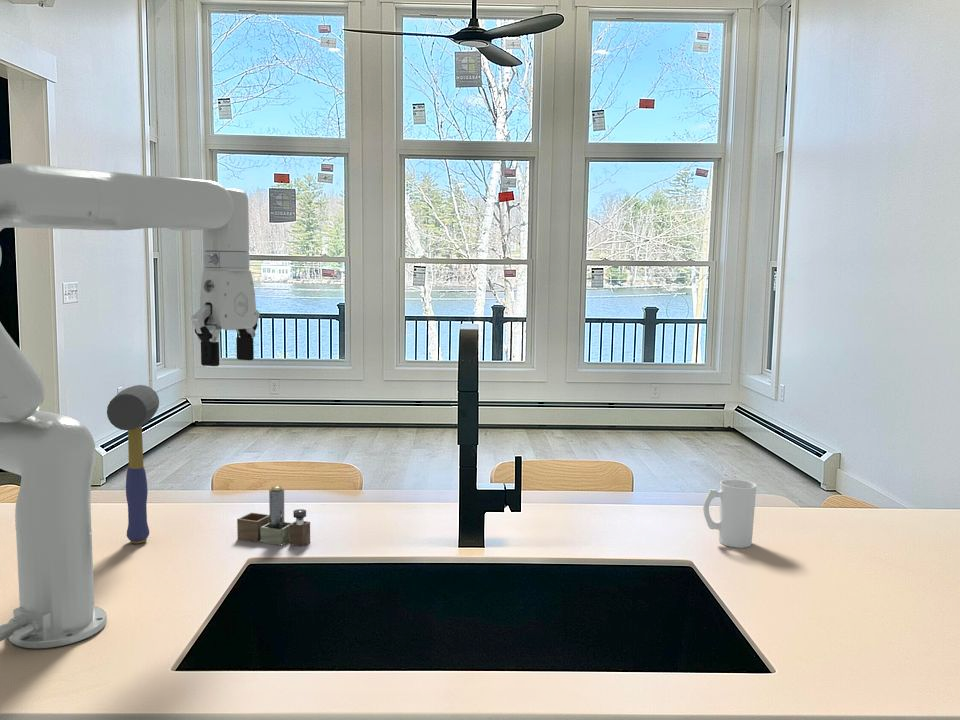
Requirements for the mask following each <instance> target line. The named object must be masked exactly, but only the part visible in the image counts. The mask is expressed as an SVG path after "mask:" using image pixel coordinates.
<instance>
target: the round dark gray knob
mask: <svg viewBox="0 0 960 720" xmlns="http://www.w3.org/2000/svg"><path fill="white" fill-rule="evenodd" d="M292 515H293V516H292V517H293V518H295V521H296V525H304V521H305V518H306V517H307V510H306V509H304V508H303V509H301V508H299V509H294V510H293V514H292Z"/></svg>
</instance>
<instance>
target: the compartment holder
mask: <svg viewBox="0 0 960 720" xmlns="http://www.w3.org/2000/svg"><path fill="white" fill-rule="evenodd" d="M236 521H237V522H236V523H237V525H236V526H237V527H236V528H237V529H236V530H237V540H241V541H247V540H250V541H249V542H254V541H256V543H259V542H260V543H261V542H265V543H264V544H269V543H272V544H271V545H276V544H280V545H279V546H282V545H281V544H283V545H285V544H286V543H288V542H289V545H290V544H291V545H290V546H296V545H300V546H299V547H304V546H306V545H307V543H308V544H309V543H310V542H311V521H307V520H306V521H305V520H304V525H296V520H295V521H293V522H291V521H290V522H289V521H284V525H285V527H284V528H282V529H275V528H270V515H269V514H267V513H264V514H263V513H258V512H250V513H247V514H245V515H243V516H241V517H238V518H237V519H236ZM260 540H261V541H260ZM289 540H290V541H289ZM258 541H259V542H258ZM287 541H288V542H287ZM284 543H285V544H284ZM305 544H306V545H305Z"/></svg>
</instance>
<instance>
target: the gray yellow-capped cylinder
mask: <svg viewBox="0 0 960 720" xmlns="http://www.w3.org/2000/svg"><path fill="white" fill-rule="evenodd" d="M268 495H269V496H268V498H269V499H268V503H269V506H268V507H269V509H268V510H269V512H268V513H269V514H268V515H270V528H275V529H282V528H284V527H285V525H284V522H285V489H284V488H283V486H281V485H273V486H271V488H270V489H269V492H268Z"/></svg>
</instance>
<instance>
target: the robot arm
mask: <svg viewBox="0 0 960 720" xmlns="http://www.w3.org/2000/svg"><path fill="white" fill-rule="evenodd" d="M249 215H250V214H249V197H248V194H247V193H246V192H245V191H244V190H241V189H237V188H230V187H228V188H227V187H224V186H223V185H221V184H220V183H218V182H216V181H213V180H206V179H205V180H204V179H196V178H185V177H174V176H173V177H172V176H171V177H170V176H158V175H144V174H134V173H127V172H117V171H116V172H115V171H103V170H92V169H81V168H71V167H64V166H63V167H62V166H61V167H60V166H51V165H50V166H49V165H42V164H33V163H30V164H29V163H20V162H19V163H18V162H17V163H15V162H14V163H13V162H12V163H4V164H3V163H2V164H0V232H1V231H2V230H3V229H6V228H8V229H9V228H22V229H24V228H25V229H26V228H27V229H51V230H52V229H53V230H55V229H56V230H59V229H60V230H81V231H84V230H87V231H132V230H141V229H143V230H144V229H157V228H158V229H164V228H165V229H168V230H172V231H179V232H180V231H182V232H183V231H185V232H186V231H187V232H188V231H202V259H203V260H202V262H203V263H202V264H203V265H202V266H203V268H202V269H203V270H202V274H201V280H200V281H201V282H200V283H201V284H200V295H199V309H198V310H197V311H196V312H195V313H194V314H193V315H192V316H191V322H192V325H193V327H194V333H195V334H196V336H197V340H198V342H200V363H201V366H203V367H204V366H206V367H207V366H208V367H218V366H220V342H218V341H217V339H218V338H219V336H220V333H221V332H222V330H224V331H235V332H236V333H237V336H236V344H235V345H236V347H235V348H236V360H238V361H253V360H254V355H255V354H254V349H255V347H254V338H255V337H256V330H257V328H258V326H259V325H258V321H259V317H260V311H258V310H257V306H256V305H257V304H256V293H255V285H254V279H253V275H252V271H251V270H250V225H249V224H250V222H249V217H250V216H249ZM2 254H3V253H2V247H1V246H0V266H1V264H2ZM44 399H45V387H44V383H43V381H42V378H41V377H40V375H39V373H38V371H37V370H36V369H35V367H34V366H33V365H32V363H31V362H30V361H29V360H28V358H27V356H26V355H24V353H23V351H22V350H21V349H20V348H19V347H18V345H17V343H16V342H15V341H14V339H13V338H12V337H11V335H10V334H9V333H8V332H7V330H6V329H5V327H4V326H3V324H2V323H1V321H0V469H1V470H3V471H5V472H9V473H13V474H15V475H17V476H18V475H19V476H20V477H21V479H20V486H19V491H18V494H17V498H16V501H15V509H14V512H15V513H14V521H15V523H14V524H15V525H14V526H15V534H16V535H15V537H16V557H17V574H18V575H17V576H18V594H19V595H18V596H19V598H18V600H19V607H17V608H14V609H13V612H12V613H13V615H12V616H13V617H12V618H10V619H9V620H8V622H7V623H5V624H4V623H3V624H1V625H0V642H2V641H4V640H6V639H8V640H9V641H10V643H12V644H14V646H18V647H20V648H25V649H49V648H57V647H62V646H63V647H64V646H66V645H71V644H74V643H77V642H80V641H84V640H86V639H87V638H90V637H92V636H94V635H95V634H98V632H100V631H101V630H102V629H103V628H105V626H106V624H107V620H108V618H107V617H108V615H107V612H106V611H105V609H103V608H102V607H100V606H96V605H95V589H94V588H95V585H94V563H93V561H94V559H93V558H94V557H93V556H94V555H93V536H92V535H93V534H92V533H93V531H92V513H91V511H92V509H91V508H92V507H91V506H92V505H91V490H92V480H93V473H94V467H95V461H96V444H95V440H94V437H93V435H92V433H91V432H90V430H89V429H88V428H87V427H86V425H84V424H83V423H82V422H80V421H79V420H77V419H76V418H72V417H71V416H69V415H65V414H60V413H55V412H51V411H44V410H43V411H42V410H39V409H40V408H41V407H42V405H43V402H44Z"/></svg>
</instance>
